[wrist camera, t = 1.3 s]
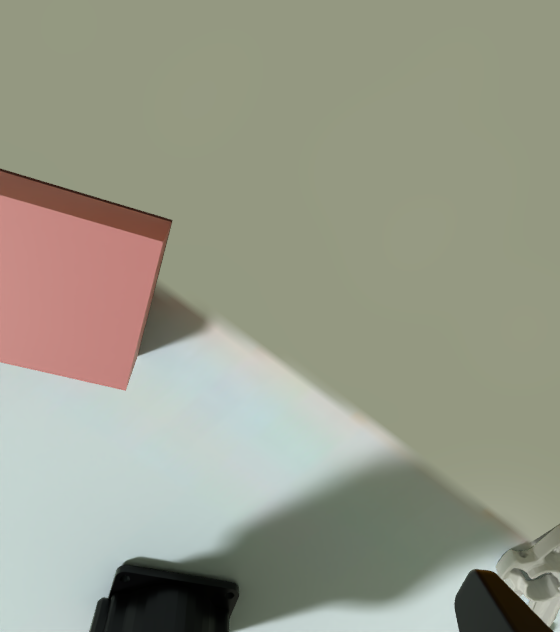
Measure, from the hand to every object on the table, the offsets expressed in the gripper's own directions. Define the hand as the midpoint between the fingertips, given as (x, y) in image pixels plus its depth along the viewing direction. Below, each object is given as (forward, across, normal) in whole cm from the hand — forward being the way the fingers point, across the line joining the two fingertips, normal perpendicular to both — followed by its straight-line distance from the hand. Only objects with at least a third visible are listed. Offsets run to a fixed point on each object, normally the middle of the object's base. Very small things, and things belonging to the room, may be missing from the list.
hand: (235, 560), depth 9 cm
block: (+13, +7, +1) cm, 15 cm away
